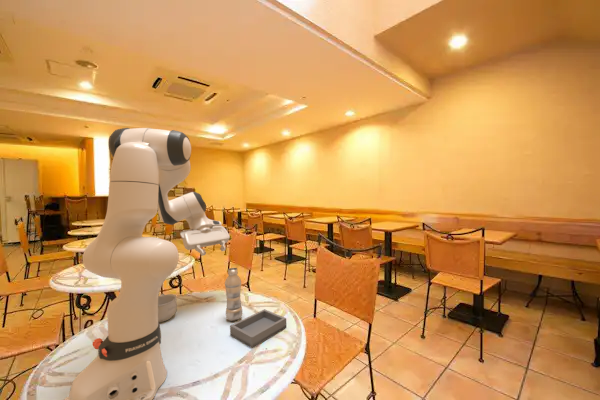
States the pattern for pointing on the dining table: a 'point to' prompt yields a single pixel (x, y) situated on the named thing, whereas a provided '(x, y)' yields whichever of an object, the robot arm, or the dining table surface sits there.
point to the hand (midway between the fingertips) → (214, 252)
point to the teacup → (166, 307)
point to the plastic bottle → (233, 295)
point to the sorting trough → (257, 328)
